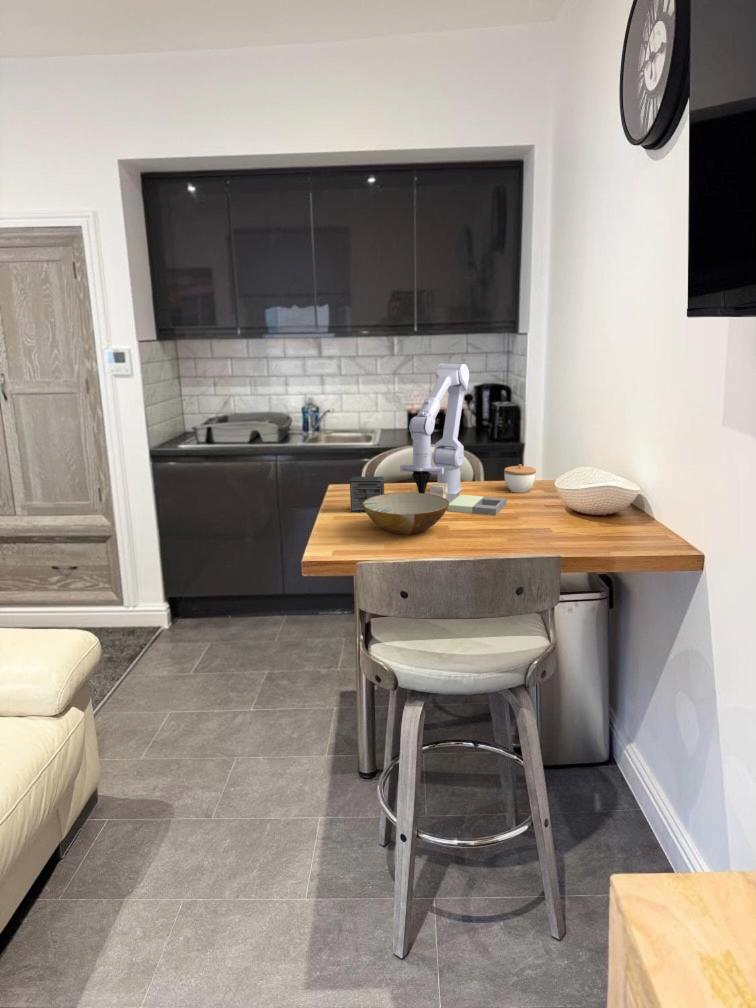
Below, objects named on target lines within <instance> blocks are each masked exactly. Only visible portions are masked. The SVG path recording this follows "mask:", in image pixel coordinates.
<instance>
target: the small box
mask: <svg viewBox="0 0 756 1008" xmlns="http://www.w3.org/2000/svg"><path fill="white" fill-rule="evenodd" d="M349 492H350V493H349V494H350V513H366V511H365V510H364V508H363V506H362V503H363V501H364V500H366V499H368V498H370V497H373V496H377V495H382V494H385V477H384V476H352V477H351V478H350V479H349Z"/></svg>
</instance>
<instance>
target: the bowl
mask: <svg viewBox="0 0 756 1008" xmlns="http://www.w3.org/2000/svg"><path fill="white" fill-rule="evenodd" d="M411 492H412V491H411ZM411 492H408V491H407V492H391V493H384V494H382V495H377V496H373V497H370V498H368V499H366V500H364V501H363V503H362V506H363V508H364V510H365V511H366V512H365V513H366V515H367V516H368V517H369V519H370V520H371V521H372V522H373V523H375V524H376V525H377V526H378V527H380V528H382V529H384V530H385V531H387V532H389V533H391V534H394V535H395V534H396V535H405V536H406V535H408V536H409V535H417V534H420V533H423V532H424V531H426V530H428V529H429V528H431V527H433V526H434V525H435V524H437V523H438V521H440V520H441V519H442V517H443V516H444V515H445V514H446V512H447V511H446V510H447V508H448V506H449V501H448V500H447V499H445V498H443V497H440V496H436V495H432V494H425V493H411Z"/></svg>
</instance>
